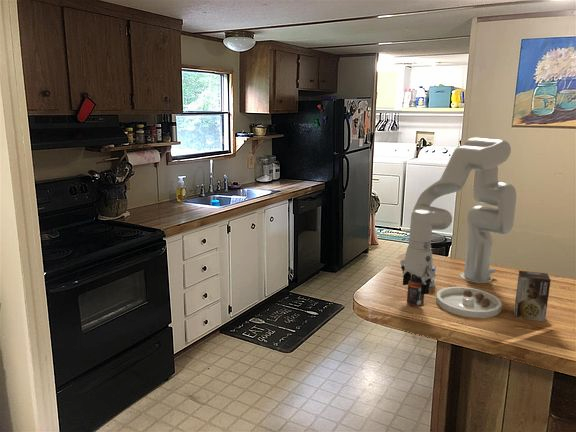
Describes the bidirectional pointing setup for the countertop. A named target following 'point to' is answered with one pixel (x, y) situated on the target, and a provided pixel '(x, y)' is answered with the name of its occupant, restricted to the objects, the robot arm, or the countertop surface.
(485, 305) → the bead
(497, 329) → the countertop surface
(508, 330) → the countertop surface
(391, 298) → the countertop surface
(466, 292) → the bead
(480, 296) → the bead
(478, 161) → the robot arm
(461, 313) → the groove tray
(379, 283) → the countertop surface
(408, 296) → the supplement bottle
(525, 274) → the printed cardboard box
